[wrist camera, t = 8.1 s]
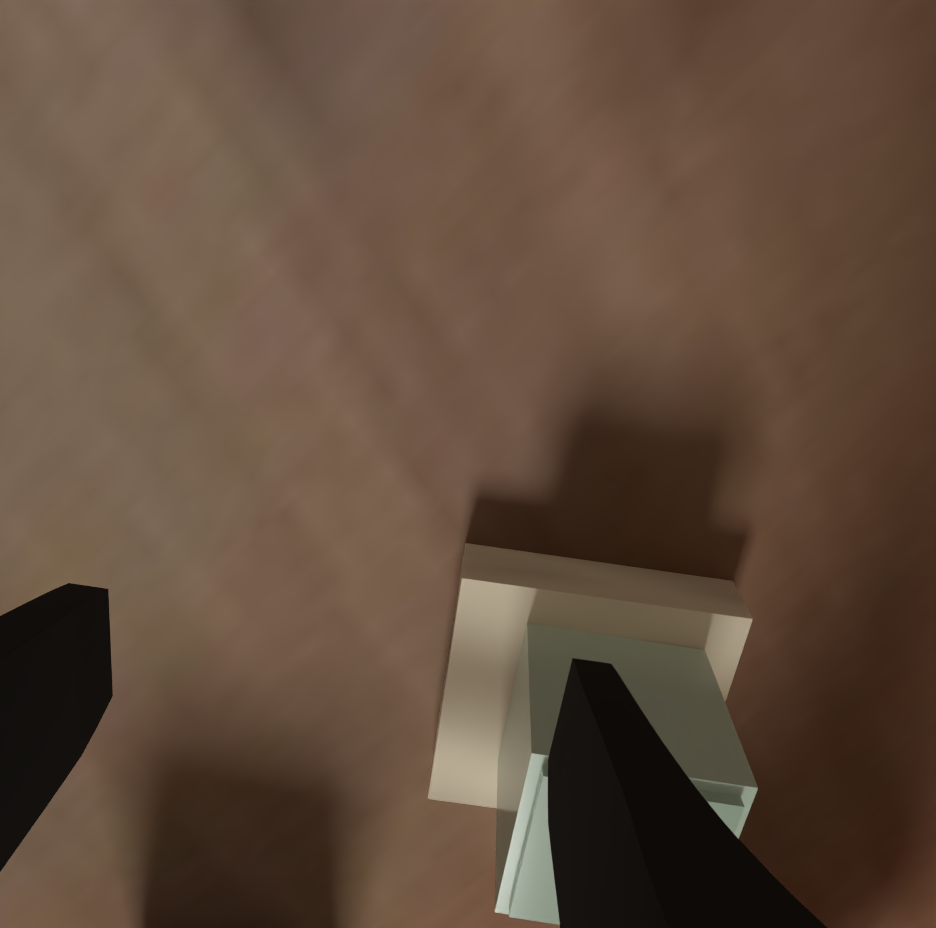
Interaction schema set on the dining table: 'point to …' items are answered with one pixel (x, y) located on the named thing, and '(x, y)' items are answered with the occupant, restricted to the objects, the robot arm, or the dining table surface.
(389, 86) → the dining table surface
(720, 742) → the sage box
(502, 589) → the maple block
